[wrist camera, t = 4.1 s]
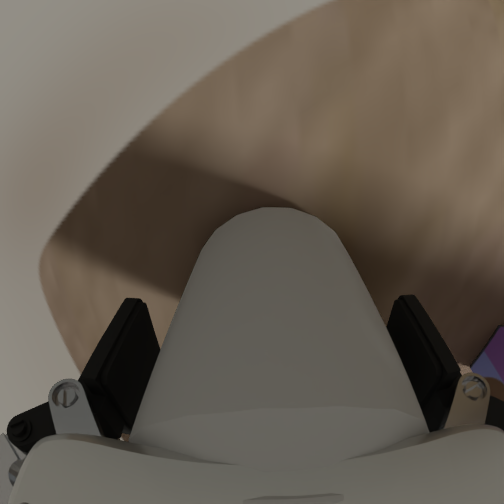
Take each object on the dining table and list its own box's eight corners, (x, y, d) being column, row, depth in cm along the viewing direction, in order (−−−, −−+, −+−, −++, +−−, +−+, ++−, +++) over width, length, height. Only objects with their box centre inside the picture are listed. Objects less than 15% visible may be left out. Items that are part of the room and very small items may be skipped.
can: (217, 333, 17) (181, 538, 6) (184, 213, 13) (33, 461, 3) (344, 319, 16) (397, 524, 5) (343, 192, 13) (520, 436, 2)
